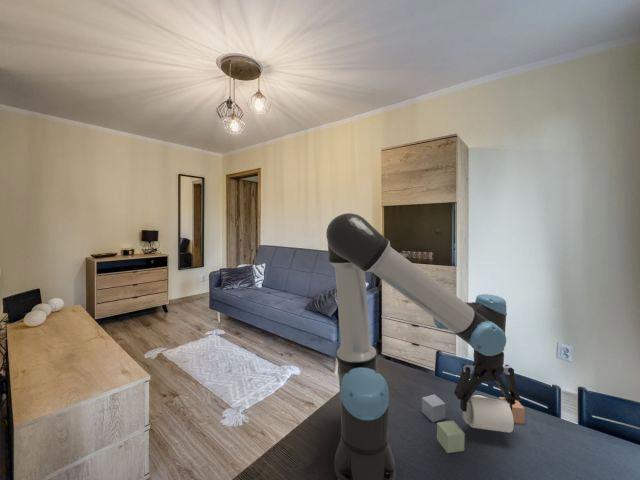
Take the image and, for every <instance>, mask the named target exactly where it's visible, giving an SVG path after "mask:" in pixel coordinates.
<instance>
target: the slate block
mask: <svg viewBox="0 0 640 480" xmlns="http://www.w3.org/2000/svg"><path fill="white" fill-rule="evenodd" d="M446 407H447V404H446V402H445V401H443V400H442V399H441V398H440V397H438V396H437V395H436V394H430V395H427V396H423V397H421V413H422V414H423V415H425V417H426V418H428V419H429V420H430V421H431V422H432V423H436V422H439V421H441V420H445V419H446V418H447V417H446V413H447V412H446V411H447V409H446Z"/></svg>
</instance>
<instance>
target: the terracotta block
mask: <svg viewBox="0 0 640 480" xmlns="http://www.w3.org/2000/svg"><path fill="white" fill-rule="evenodd" d="M502 398H505V397H504V396H503V397H502V396H499V397H498V399H500V400H501V399H502ZM515 402H516V403H515V404H514V405H513V404H512V415H513V421H514V424H520V425H521V424H523V425H525V411H526V409H525V407H524V406H523V405H522V403H520V400H519V401H517V400H515Z"/></svg>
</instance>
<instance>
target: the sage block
mask: <svg viewBox="0 0 640 480" xmlns="http://www.w3.org/2000/svg"><path fill="white" fill-rule="evenodd" d="M465 435H466V434H465V432H464V431H463V430H462V429H461V428H460V427H459V425H458V424H457V423H456V422H455V421H454V420H448V421H437V422H436V440H437V442H438V443H439V444H440V446H441V447H442V448H443V449H444V451H445V452H446V454H450V453H458V452H459V453H460V452H464V451H465V440H466V439H465Z"/></svg>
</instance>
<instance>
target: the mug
mask: <svg viewBox="0 0 640 480" xmlns="http://www.w3.org/2000/svg"><path fill="white" fill-rule="evenodd" d="M469 401H470V403H471V406H470V424H468V425H469V426H470V428H474V429H479V430H481V429H482V430H487V431H493V432H503V433H510V434H511V433H512V432H513V431H514V426H515V425H514V424H515V423H514V421H513V415H512V411H511V408H510V406H509V404H508V403H507V402H506V401H505V400H500V399H499V398H492V397H491V398H489V397H488V396H484V395H478V394H477V395H472V396H471V397H470V399H469Z"/></svg>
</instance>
